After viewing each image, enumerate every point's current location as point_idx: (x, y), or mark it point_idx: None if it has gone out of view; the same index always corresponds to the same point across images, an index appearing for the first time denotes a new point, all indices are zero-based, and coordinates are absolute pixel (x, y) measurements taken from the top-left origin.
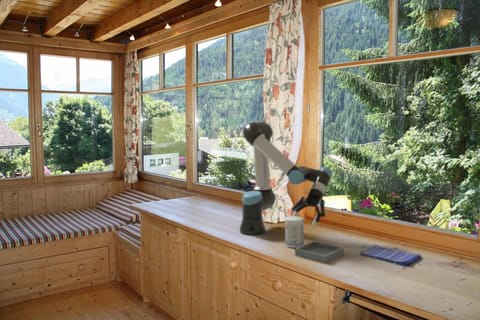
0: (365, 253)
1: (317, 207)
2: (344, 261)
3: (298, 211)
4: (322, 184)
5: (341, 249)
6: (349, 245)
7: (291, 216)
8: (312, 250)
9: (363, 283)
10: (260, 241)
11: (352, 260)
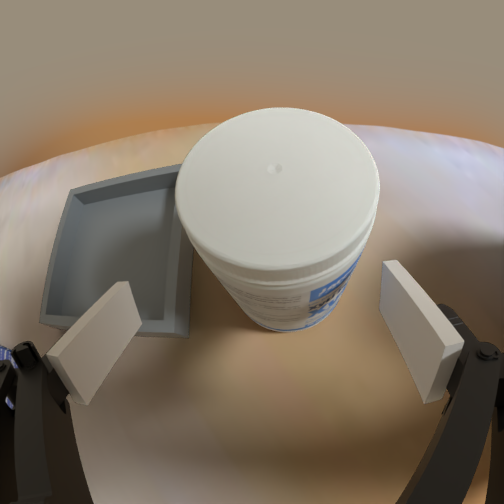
0: (10, 354)
1: (15, 452)
2: (45, 261)
3: (437, 427)
4: None
5: (44, 303)
6: (85, 453)
7: (364, 207)
8: (154, 259)
9: (18, 184)
10: (445, 206)
11: (31, 287)
